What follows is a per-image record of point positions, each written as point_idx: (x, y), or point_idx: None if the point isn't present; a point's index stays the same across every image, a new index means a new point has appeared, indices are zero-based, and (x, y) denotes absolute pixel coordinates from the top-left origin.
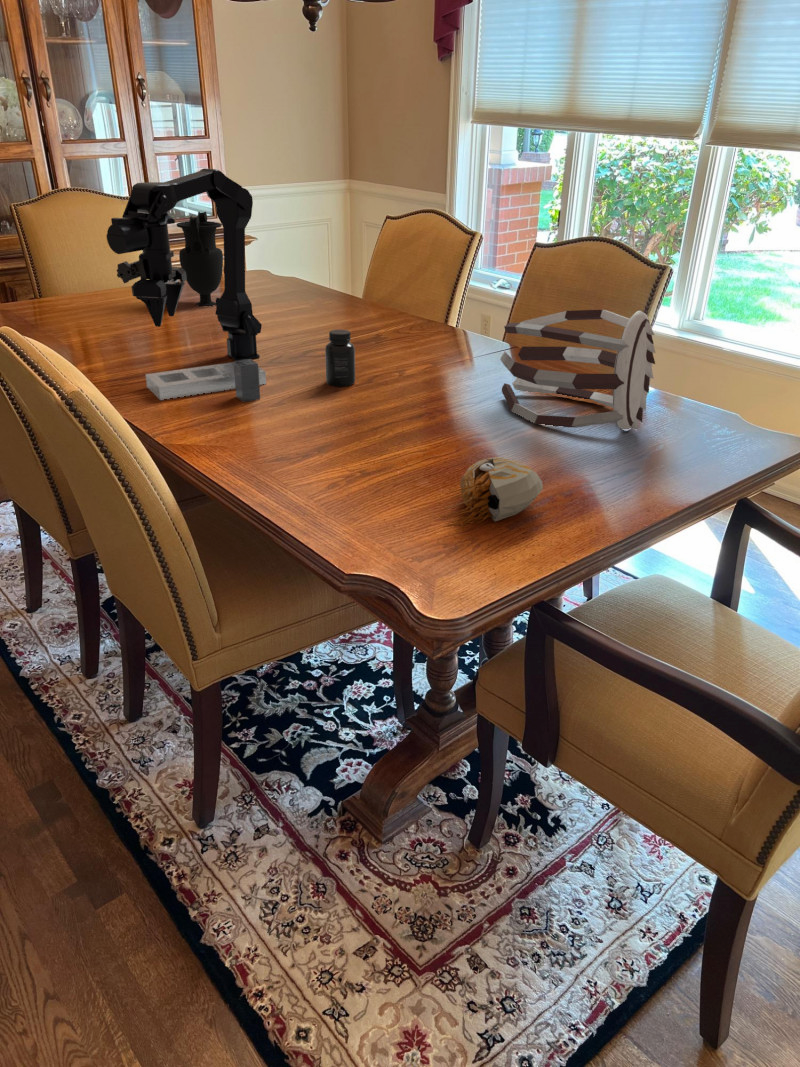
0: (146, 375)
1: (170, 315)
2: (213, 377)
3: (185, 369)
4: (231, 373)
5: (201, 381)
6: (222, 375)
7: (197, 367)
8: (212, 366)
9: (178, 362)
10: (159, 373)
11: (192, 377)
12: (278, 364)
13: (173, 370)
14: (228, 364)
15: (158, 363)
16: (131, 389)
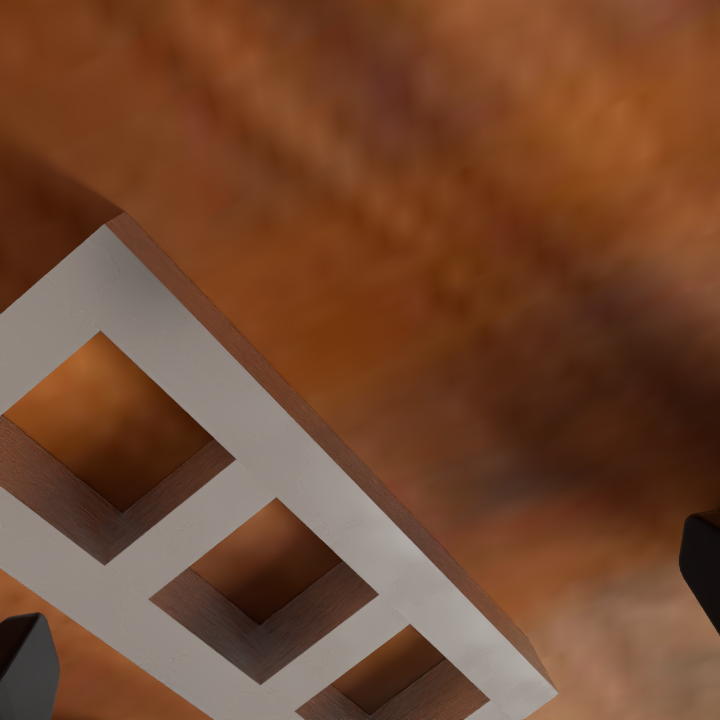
0: (83, 242)
1: (691, 539)
2: (188, 667)
3: (306, 455)
4: (294, 715)
5: (98, 633)
6: (241, 693)
7: (368, 506)
8: (407, 576)
9: (691, 203)
10: (160, 323)
11: (146, 564)
12: (662, 698)
13: (262, 389)
14: (462, 637)
15: (668, 67)
16: (40, 113)
